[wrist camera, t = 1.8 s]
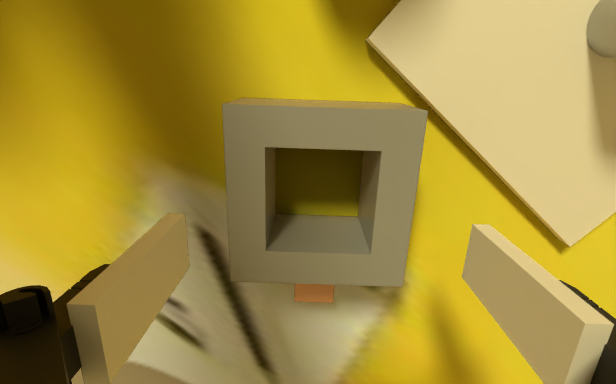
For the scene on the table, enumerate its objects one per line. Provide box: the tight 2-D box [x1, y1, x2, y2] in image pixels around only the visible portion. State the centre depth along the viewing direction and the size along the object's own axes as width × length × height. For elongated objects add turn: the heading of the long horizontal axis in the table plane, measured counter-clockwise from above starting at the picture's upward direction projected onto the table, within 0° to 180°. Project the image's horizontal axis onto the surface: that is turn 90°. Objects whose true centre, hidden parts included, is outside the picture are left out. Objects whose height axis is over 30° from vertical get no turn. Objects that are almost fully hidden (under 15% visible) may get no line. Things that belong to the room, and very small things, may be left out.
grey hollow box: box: [222, 98, 428, 303], centre depth 23 cm, size 15×11×6 cm
